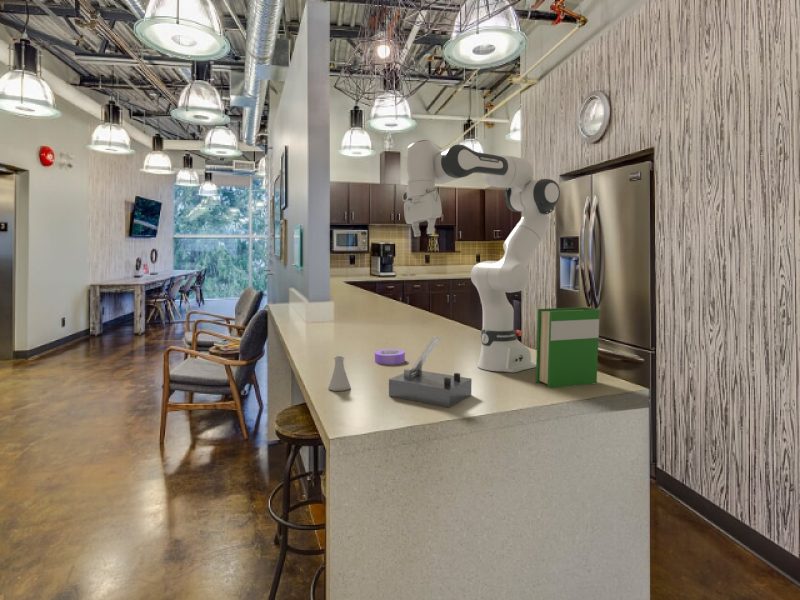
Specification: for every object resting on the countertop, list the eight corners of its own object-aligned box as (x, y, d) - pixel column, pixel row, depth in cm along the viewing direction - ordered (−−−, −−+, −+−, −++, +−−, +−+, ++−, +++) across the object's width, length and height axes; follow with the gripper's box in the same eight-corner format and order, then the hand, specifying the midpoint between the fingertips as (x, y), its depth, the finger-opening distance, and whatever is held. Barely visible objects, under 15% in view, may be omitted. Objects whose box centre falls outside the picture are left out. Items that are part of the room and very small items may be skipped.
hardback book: (549, 388, 149) (551, 311, 146) (535, 381, 156) (537, 309, 153) (596, 383, 154) (599, 309, 152) (581, 377, 161) (584, 307, 159)
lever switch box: (388, 395, 141) (388, 370, 140) (413, 384, 152) (414, 361, 152) (449, 407, 130) (449, 380, 129) (471, 395, 141) (471, 370, 141)
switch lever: (409, 377, 142) (406, 374, 143) (416, 374, 145) (413, 371, 146) (435, 340, 136) (431, 337, 137) (441, 338, 140) (438, 335, 140)
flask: (332, 393, 144) (331, 360, 143) (324, 387, 150) (324, 355, 149) (354, 389, 147) (354, 357, 146) (346, 384, 153) (345, 353, 152)
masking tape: (378, 366, 179) (378, 355, 178) (371, 359, 190) (371, 349, 189) (408, 364, 182) (408, 354, 182) (399, 357, 193) (399, 348, 193)
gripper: (445, 186, 146) (447, 231, 147) (416, 197, 165) (418, 237, 166) (427, 186, 143) (429, 232, 144) (400, 197, 162) (402, 237, 163)
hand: (423, 235), depth 155 cm, fingers open, 8 cm apart
